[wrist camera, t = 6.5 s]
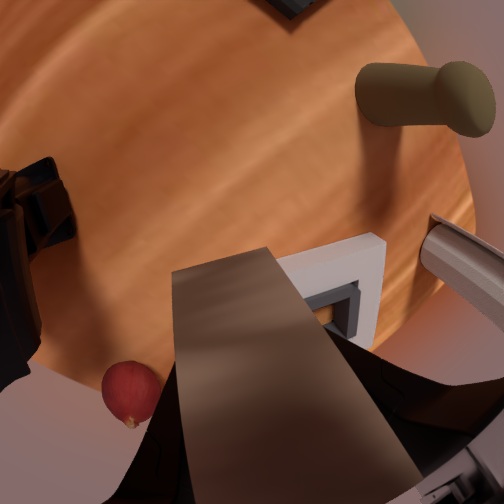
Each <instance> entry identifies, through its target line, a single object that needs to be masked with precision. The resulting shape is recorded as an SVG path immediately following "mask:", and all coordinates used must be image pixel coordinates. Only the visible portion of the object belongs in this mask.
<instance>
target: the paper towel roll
mask: <svg viewBox="0 0 504 504" xmlns="http://www.w3.org/2000/svg"><path fill="white" fill-rule="evenodd" d="M432 215H433V217H435V218H436V219H437V220H439V221H441V222H442V223H444V224H440V225H437V226H435V227H434V228H433V229H432V230H431V231H430V232H429V234H428V235H427V237H426V238H425V241H424V243H423V245H422V249H421V254H420V257H421V263H422V264H423V266H424V267H425V268H426V269H427V270H429V271H430V272H431V273H433V274H434V275H435V276H436V277H438V278H439V279H440V280H442V281H443V282H444V283H446V284H447V285H448V286H449V287H451V288H452V289H453V290H455V291H456V292H457V293H459V294H460V295H461V296H462V297H463V298H465V299H466V300H467V301H468V302H469V303H471V304H472V305H473V306H474V307H475V308H477V309H478V310H479V311H480V312H481V313H482V314H484V315H485V316H486V317H487V318H488V319H489V320H491V321H492V322H493V323H494V324H495V325H496V326H497V327H499V328H500V329H501V330H502V331H503V332H504V253H503V252H501V251H499V250H498V249H496V248H495V247H493V246H491V245H490V244H488V243H487V242H485V241H483V240H481V239H480V238H478V237H476V236H475V235H473V234H471V233H469V232H468V231H466V230H464V229H462V228H461V227H459V226H457V225H455V224H453V223H451V222H449V221H448V220H446V219H444V218H442V217H440V216H438V215H436V214H434V213H432Z"/></svg>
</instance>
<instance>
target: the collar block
mask: <svg viewBox="0 0 504 504" xmlns="http://www.w3.org/2000/svg"><path fill="white" fill-rule="evenodd" d="M385 255H386V242H385V241H384V240H382V239H381V238H379V237H378V236H376V235H375V234H373V233H372V232H369V233H365V234H362V235H358V236H355V237H352V238H348V239H345V240H341V241H338V242H334V243H331V244H327V245H324V246H320V247H317V248H313V249H310V250H306V251H303V252H299V253H296V254H292V255H289V256H285V257H281V258H278V259H276V261H277V262H278V263H279V265H280V266H281V268H282V269H283V270H284V272H285V273H286V275H287V276H288V278H289V279H290V280H291V282H292V283H293V285H294V286H295V288H296V289H297V290H298V292H299V293H300V295H301V296H302V298H303V299H304V300H305V302H306V303H307V305H308V306H309V308H310V309H311V311H313V310H315V309H318V308H321V307H324V306H327V305H330V304H332V303H334V321H333V322H330V323H328V324H325V325H322V326H324V327H326V328H327V329H329V330H331V331H333V332H335V333H336V334H338V335H340V336H342V337H344V338H345V339H347V340H349V341H351V342H353V343H354V344H356V345H358V346H360V347H362V348H364V349H368V348H370V347H372V344H373V339H374V334H375V329H376V323H377V317H378V311H379V305H380V298H381V291H382V283H383V274H384V265H385Z"/></svg>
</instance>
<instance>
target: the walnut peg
mask: <svg viewBox="0 0 504 504" xmlns="http://www.w3.org/2000/svg"><path fill="white" fill-rule="evenodd" d="M172 310H173V332H174V348H175V362H176V374H177V385H178V394H179V404H180V412H181V420H182V428H183V435H184V441H185V448H186V454H187V460H188V466H189V472H190V477H191V482H192V487H193V492H194V497H195V502H196V504H385V503H387V502H389V501H391V500H393V499H394V498H396V497H398V496H399V495H401V494H403V493H404V492H406V491H408V490H409V489H411V488H412V487H414V486H415V485H417V484H418V483H420V482H421V481H423V480H424V478H423V477H422V475H421V473H420V472H419V470H418V469H417V467H416V466H415V464H414V462H413V461H412V459H411V458H410V456H409V455H408V453H407V452H406V450H405V449H404V447H403V445H402V444H401V442H400V441H399V439H398V438H397V436H396V435H395V433H394V432H393V430H392V429H391V427H390V426H389V424H388V423H387V421H386V420H385V418H384V417H383V415H382V414H381V412H380V411H379V409H378V408H377V406H376V405H375V403H374V402H373V400H372V399H371V397H370V396H369V394H368V393H367V391H366V390H365V388H364V387H363V385H362V384H361V382H360V381H359V379H358V378H357V376H356V375H355V373H354V372H353V370H352V369H351V367H350V366H349V364H348V363H347V361H346V360H345V359H344V357H343V356H342V354H341V353H340V351H339V350H338V348H337V347H336V345H335V344H334V342H333V341H332V339H331V338H330V337H329V335H328V334H327V332H326V331H325V329H324V328H323V326H322V325H321V324H320V322H319V321H318V319H317V318H316V316H315V315H314V313H313V312H312V311H311V309H310V308H309V306H308V305H307V303H306V302H305V300H304V299H303V298H302V296H301V295H300V293H299V292H298V290H297V289H296V288H295V286H294V285H293V283H292V282H291V280H290V279H289V278H288V276H287V275H286V273H285V272H284V270H283V269H282V268H281V266H280V265H279V263H278V262H277V261H276V259H275V258H274V256H273V255H272V253H271V252H270V251H269V249H268V248H267V247H263V248H259V249H256V250H252V251H248V252H245V253H241V254H237V255H233V256H230V257H226V258H222V259H219V260H215V261H211V262H207V263H204V264H200V265H196V266H193V267H189V268H185V269H182V270H178V271H174V272H172Z"/></svg>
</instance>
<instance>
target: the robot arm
mask: <svg viewBox="0 0 504 504" xmlns="http://www.w3.org/2000/svg"><path fill="white" fill-rule="evenodd" d="M47 161H49V163H50V165H49V167H48V166H47V165H46V162H47ZM70 213H71V207H70V204H69V201H68V198H67V195H66V192H65V189H64V185H63V182H62V180H61V179H59V176H58V173H57V169H56V166H55V162H54V159H53V158H52V157H46V158H44V159H42V160H39V161H37V162H35V163H33V164H32V165H30V166H28V167H26V168H24V169H22V170H20V171H18V172H16V171H9V170H1V169H0V393H1V392H2V390H3V389H4V388H5V387H7V386H8V385H9V384H11V383H12V382H14V381H15V380H17V379H19V378H22V377H24V376H27V375H28V374H30V373H31V371H30V368H29V366H28V364H27V361H28V360H29V359H30V358H31V357H32V356H33V355H34V353H35V352H36V351H37V350H38V348H39V346H40V344H41V339H40V335H41V326H42V322H41V318H40V315H39V311H38V307H37V302H36V298H35V293H34V289H33V284H32V279H31V273H30V267H29V264H30V263H31V262H32V260H33V259H34V258H35V257H36V256H37V254H38V253H39V252H40V251H41V250H42V249H44V248H46V247H49V246H52V245H54V244H57V243H60V242H63V241H65V240H68V239H71V238H73V237H74V236H75V234H76V227H75V225H74V222H73V219H72V216H71V214H70ZM68 229H70V230H71V231H72V234H71V233H69V232H68ZM323 328H324V329H325V331H326V332H327V334H328V335H329V337H330V338H331V339H332V341H333V342H334V344H335V345H336V347H337V348H338V350H339V351H340V353H341V354H342V356H343V357H344V359H345V360H346V361H347V363H348V364H349V366H350V367H351V369H352V370H353V372H354V373H355V375H356V376H357V378H358V379H359V381H360V382H361V384H362V385H363V387H364V388H365V390H366V391H367V393H368V394H369V396H370V397H371V399H372V400H373V402H374V403H375V405H376V406H377V408H378V409H379V411H380V412H381V414H382V415H383V417H384V418H385V420H386V421H387V423H388V424H389V426H390V427H391V429H392V430H393V432H394V433H395V435H396V436H397V438H398V439H399V441H400V442H401V444H402V445H403V447H404V449H405V450H406V452H407V453H408V455H409V456H410V458H411V459H412V461H413V462H414V464H415V466H416V467H417V469H418V470H419V472H420V473H421V475H422V477H423V478H424V480H423V481H421V482H420V483H418V484H417V485H415V487H416V488H417V490H418V492H419V493H420V495H421V496H422V498H421V499H420V501H421V503H422V504H504V377H503V378H500V379H496V380H490V381H485V382H479V383H472V384H465V385H457V386H451V385H444V384H441V383H438V382H435V381H433V380H430V379H427V378H424V377H422V376H419V375H417V374H414V373H411V372H409V371H407V370H404V369H402V368H400V367H397V366H395V365H394V364H392V363H390V362H388V361H386V360H384V359H381V358H380V357H378V356H376V355H375V354H373V353H371V352H369V351H367V350H365V349H364V348H362V347H360V346H358V345H356V344H354V343H353V342H351V341H349V340H347V339H345V338H344V337H342V336H340V335H338V334H336V333H335V332H333V331H331V330H329V329H327V328H326V327H324V326H323ZM102 504H196V502H195V497H194V492H193V487H192V482H191V477H190V472H189V466H188V460H187V454H186V448H185V441H184V435H183V428H182V420H181V412H180V404H179V394H178V385H177V374H176V362H174V365H173V367H172V369H171V372H170V374H169V376H168V379H167V381H166V384H165V386H164V388H163V391H162V393H161V396H160V398H159V401H158V403H157V405H156V408H155V410H154V413H153V415H152V418H151V420H150V423H149V425H148V428H147V432H146V433H145V435H144V438H143V440H142V442H141V445H140V447H139V449H138V451H137V453H136V456H135V458H134V460H133V461H132V463H131V465H130V467H129V469H128V471H127V472H126V474H125V476H124V478H123V480H122V482H121V483H120V485H119V487H118V489H117V490H116V492H115V493H114V494H113V495H112V496H111V497H110V498H109V499H108V500H106V501H105V502H103V503H102Z"/></svg>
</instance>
